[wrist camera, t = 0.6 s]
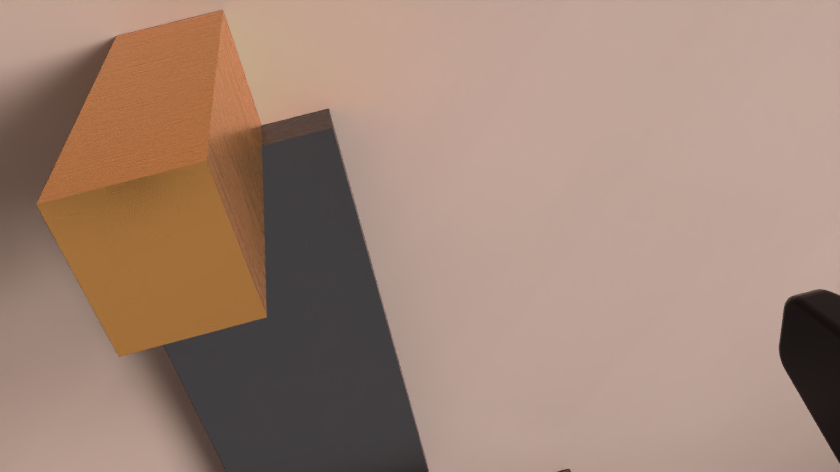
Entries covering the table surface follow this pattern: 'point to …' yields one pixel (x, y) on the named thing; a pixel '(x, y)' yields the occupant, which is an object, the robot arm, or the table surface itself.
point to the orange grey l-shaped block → (231, 257)
